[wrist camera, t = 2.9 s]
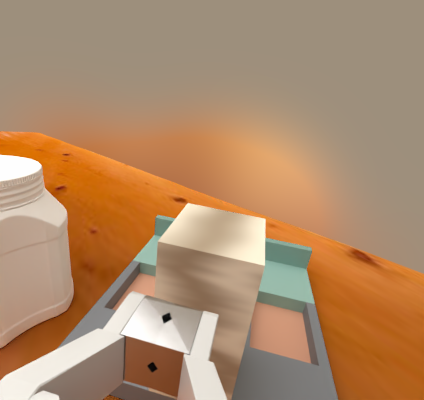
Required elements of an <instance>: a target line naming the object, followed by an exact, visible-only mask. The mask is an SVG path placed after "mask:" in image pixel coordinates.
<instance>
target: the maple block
mask: <svg viewBox="0 0 424 400" xmlns="http://www.w3.org/2000/svg"><path fill="white" fill-rule="evenodd" d="M264 268H265V219H263V218H258V217H253V216H248V215H244V214H239V213H234V212H229V211H224V210H219V209H214V208H209V207H204V206H199V205H194V204H189V203H188V204H187V205H186V206H185V208H184V209H183V210H182V211H181V213H180V214H179V215H178V216H177V218H176V219H175V220H174V221H173V223H172V224H171V225H170V226H169V228H168V229H167V230H166V231H165V233H164V234H163V235H162V236H161V238H160V239H159V240H158V244H157V261H156V277H155V294H154V297H155V298H158V299H162V300H165V301H168V302H172V303H176V304H180V305H184V306H188V307H192V308H195V309H199V310H203V311H207V312H211V313H215V314H218V315H219V318H218V323H217V327H216V332H215V337H214V342H213V347H212V352H211V356H210V362H213V363H214V365H215V367H216V370H217V373H218V376H219V378H220V381H221V384H222V386H223V389H224V392H225V395H226V397H227V400H231V398H232V394H233V390H234V386H235V383H236V379H237V375H238V371H239V367H240V363H241V359H242V355H243V351H244V347H245V343H246V339H247V335H248V331H249V327H250V323H251V319H252V315H253V311H254V307H255V303H256V299H257V295H258V291H259V287H260V284H261V280H262V276H263V272H264ZM149 391H152V392H155V393H158V394H161V395H164V396H168V397H171V398H174V399H177V397H174V396H171V395H168V394H165V393H163V392H160V391H157V390H154V389H151V388H149Z"/></svg>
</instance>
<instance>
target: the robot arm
mask: <svg viewBox="0 0 424 400" xmlns="http://www.w3.org/2000/svg"><path fill="white" fill-rule="evenodd" d="M218 318H219V315H218V314H215V313H211V312H207V311H203V310H199V309H195V308H192V307H188V306H184V305H180V304H176V303H172V302H168V301H165V300H162V299H158V298H155V297H152V296H148V295H144V294H141V293H137V292H134V291H132V292H131V293H129V294H128V296H127V297H126V298H125V300H124V301H123V302H122V304H121V305H120V306H119V308H118V309H117V310H116V312H115V313H114V314H113V316H112V317H111V319H110V320H109V321H108V323H107V324H106V325H105V327H104V328H103V329H99V328H98V329H96V330H94V331H92V332H90V333H88V334H86V335H84V336H82V337H80V338H78V339H76V340H74V341H72V342H70V343H68V344H66V345H64V346H62V347H60V348H58V349H56V350H54V351H52V352H50V353H48V354H47V355H45V356H43V357H41V358H39V359H37V360H35V361H33V362H31V363H29V364H27V365H25V366H23V367H21V368H19V369H17V370H15V371H13V372H11V373H9V374H7V375H6V376H5V377H4V378H3V379H2V380H1V381H0V400H103V399H104V398H105V397H106V396H108V395H109V394H110V393H111V392H112V391H114V390H115V389H116V388H117V387H118V386H120V385H121V384H122V383H123V381H127V382H131V383H134V384H138V385H141V386H145V387H148V388H151V389H154V390H157V391H160V392H163V393H165V394H168V395H171V396H174V397H177V400H227V397H226V395H225V392H224V389H223V386H222V384H221V381H220V378H219V376H218V373H217V370H216V367H215V365H214V363H213V362H210V356H211V352H212V347H213V342H214V337H215V332H216V327H217V323H218Z"/></svg>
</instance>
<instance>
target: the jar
mask: <svg viewBox="0 0 424 400" xmlns="http://www.w3.org/2000/svg"><path fill="white" fill-rule="evenodd" d="M42 172H43V171H42V165H41V164H40V163H39V162H37V161H35V160H32V159H29V158H24V157H17V156H7V155H0V348H2V347H4V346H5V345H7V344H8V343H9V342H10V341H12V340H13V339H14V338H16V337H17V336H19V335H20V334H21V333H23V332H25V331H26V330H28V329H30V328H31V327H33V326H35V325H37V324H39V323H41V322H43V321H46V320H48V319H50V318H53V317H56V316H58V315H60V314H62V313H63V312H65V311H66V310H67V309H68V308H69V306H70V304H71V302H72V299H73V295H74V287H73V279H72V276H71V265H70V254H69V243H68V232H67V224H68V219H67V211H66V209H65V208H64V206H63V205H62V204H61V203H60V202H59V201H58V200H56V199H55V198H54V197H53V196H52V195H51V194H50V193H49V192H48V191H47V190H46V189H45V187H44V181H43V175H42Z"/></svg>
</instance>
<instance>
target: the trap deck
mask: <svg viewBox="0 0 424 400" xmlns="http://www.w3.org/2000/svg"><path fill="white" fill-rule="evenodd" d="M174 220H175V218H170V217H165V216H160V215H158V216H157V217H156V219H155V235H154V236H153V237H152V239H151V240H150V241H149V242H148V243H147V244H146V246H145V247H144V248H143V249H142V250H141V251H140V253H139V254H138V255H137V256H136V257H135V258H134V260H133V261H132V262H131V263H130V264H129V265H128V267H127V268H126V269H125V270H124V271H123V272H122V274H121V275H120V276H119V277H118V278H117V279H116V281H115V282H114V283H113V284H112V285H111V286H110V288H109V289H108V290H107V291H106V292H105V293H104V295H103V296H102V297H101V298H100V299H99V300H98V302H97V303H96V304H95V305H94V306H93V307H92V309H91V310H90V311H89V312H88V313H87V314H86V316H85V317H84V318H83V319H82V320H81V321H80V323H79V324H78V325H77V326H76V327H75V328H74V330H73V331H72V332H71V333H70V334H69V335H68V336H67V338H66V339H65V340H64V341H63V342H62V343H61V345H60V346H59V347H58V348H60V347H62V346H64V345H66V344H68V343H70V342H72V341H74V340H76V339H78V338H80V337H82V336H84V335H86V334H88V333H90V332H92V331H94V330H96V329H98V328H99V329H103V328H104V327H105V325H106V324H107V323H108V321H109V320H110V319H111V317H112V316H113V314H114V313H115V312H116V310H117V309H118V308H119V306H120V305H121V304H122V302H123V301H124V300H125V298H126V297H127V296H128V294H129V293H131V292H132V291H134V292H137V293H141V294H144V295H148V296H152V297H154V294H155V277H156V261H157V244H158V240H159V239H160V238H161V236H162V235H163V234H164V233H165V231H166V230H167V229H168V228H169V226H170V225H171V224H172V223H173V221H174ZM311 253H312V249H311V247H306V246H301V245H297V244H292V243H287V242H283V241H278V240H273V239H269V238H265V268H264V272H263V276H262V280H261V284H260V287H259V291H258V295H257V299H256V303H255V307H254V311H253V315H252V319H251V323H250V327H249V331H248V335H247V339H246V343H245V347H244V351H243V355H242V359H241V363H240V367H239V371H238V375H237V379H236V383H235V386H234V390H233V394H232V398H231V400H338V397H337V393H336V389H335V385H334V381H333V377H332V373H331V368H330V364H329V360H328V356H327V352H326V348H325V344H324V340H323V336H322V331H321V327H320V323H319V319H318V315H317V311H316V307H315V303H314V299H313V294H312V290H311V286H310V282H309V278H308V274H307V270H306V268H307V265H308V262H309V259H310V256H311ZM58 348H57V349H58ZM109 395H112V396H115V397H118V398H121V399H124V400H177V399H174V398H171V397H168V396H164V395H161V394H158V393H155V392H152V391H149V388H148V387H145V386H141V385H138V384H134V383H131V382H127V381H123V383H122V384H121V385H120V386H118V387H117V388H116V389H115V390H114V391H112V392H111V393H110V394H109Z"/></svg>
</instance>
